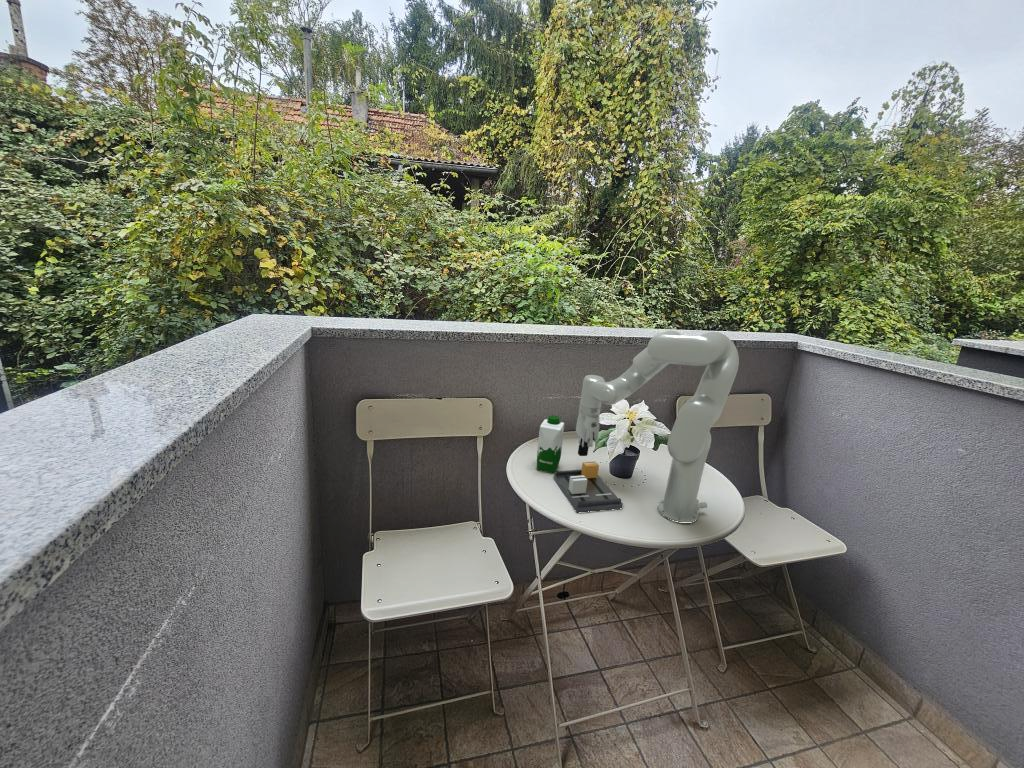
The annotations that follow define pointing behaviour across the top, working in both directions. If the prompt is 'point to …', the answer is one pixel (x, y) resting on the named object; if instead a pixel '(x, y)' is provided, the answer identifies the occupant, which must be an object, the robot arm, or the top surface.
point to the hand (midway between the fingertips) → (582, 454)
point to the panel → (588, 493)
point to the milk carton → (550, 444)
